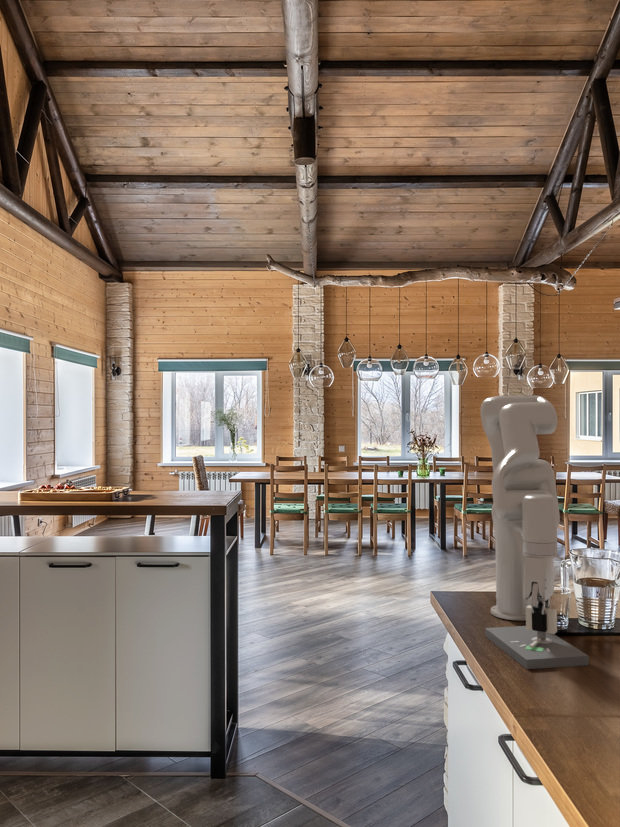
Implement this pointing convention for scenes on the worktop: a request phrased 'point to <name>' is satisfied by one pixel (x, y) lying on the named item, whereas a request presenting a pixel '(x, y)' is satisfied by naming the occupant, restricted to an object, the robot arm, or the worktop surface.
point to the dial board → (535, 648)
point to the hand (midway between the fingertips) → (541, 628)
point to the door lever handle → (550, 623)
